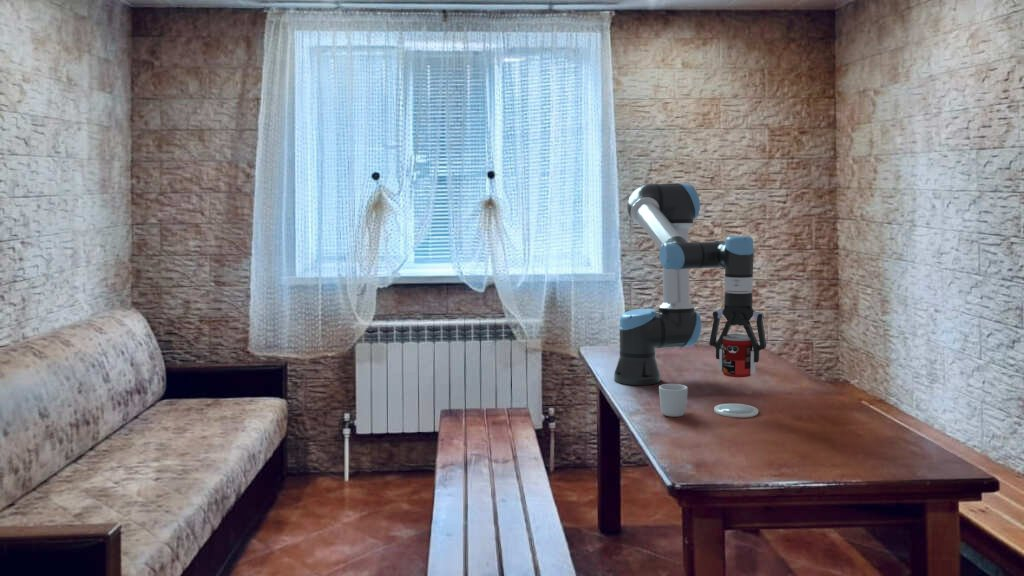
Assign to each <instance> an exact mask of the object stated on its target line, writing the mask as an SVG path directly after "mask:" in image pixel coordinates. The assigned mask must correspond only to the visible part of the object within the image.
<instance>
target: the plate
mask: <svg viewBox="0 0 1024 576" xmlns="http://www.w3.org/2000/svg"><path fill="white" fill-rule="evenodd" d="M713 410H714V413H715V414H717V415H720V416H723V417H728V418H738V419H739V418H744V419H745V418H752V417H756V416H757V415H759V408H757V407H755V406H753V405H748V404H745V403H744V404H743V403H721V404H717V405H715V406H714V409H713Z"/></svg>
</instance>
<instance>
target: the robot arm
mask: <svg viewBox="0 0 1024 576" xmlns="http://www.w3.org/2000/svg"><path fill="white" fill-rule="evenodd" d="M626 208H627V213H628V216H629V217H630V219H631V220H632V222H633V223H635V224H636V225H638V226H640V227H642V229H643V231H644V232H645V233H646V234H647V235H648V236H649V238H650V239H651V240H652V241H653V242H654V244H655V245H656V246H657V248H658V249H659V252H658V255H659V256H658V258H659V259H658V260H659V261H660V265H661V267H662V300H663V301H662V303H661V304H660V305H659V306H658V312H656V310H655V309H653V308H638V309H637V308H635V309H632V310H628V311H626V312H623V313H622V314H621V316H620V318H619V327H618V330H619V358H618V361H617V364H616V366H615V370H614V375H613V377H614V378H613V380H614V381H615V383H617V384H618V383H619V384H623V385H629V386H630V385H632V386H650V385H655V384H658V383H660V382H661V373H660V369H659V366H658V363H657V359H656V349H665V348H666V349H668V348H669V349H670V348H685V347H686V348H687V347H692V346H694V345H695V344H696V343H698V340H699V339H700V336H701V332H702V319H701V315H700V314H699V312H698V311H695V306H694V305H693V304H692V303H691V301H690V269H693V270H694V269H724V291H725V292H724V302H723V303H724V306H723V310H715V311H713V312H712V317H713V322H712V328H711V332H710V338H709V342H708V343H709V346H711V347H714V348H715V358H716V360H718V361H719V362H718V363H719V366H718V369H719V370H718V372H719V373H723V371H722V369H723V336H726V335H727V334H728V333H729V331H730V329H731V327H732V326H743V328H744V330H745V333H746V335H748V337H749V338H750V342H751V344H752V351H751V369H750V374H751V376H753V375H755V373H756V363H759V362H760V351H762V350H765V348H766V347H767V340H766V333H765V327H764V316H765V314H764V313H763V312H760V313H759V312H755V310H754V309H753V295H754V294H753V292H752V291H753V289H754V286H753V285H754V276H753V275H754V257H755V256H754V253H755V249H754V239H753V238H752V237H751V236H750V235H749V236H748V235H746V236H745V235H731V236H727V237H726V239H725V241H724V240H715V241H703V242H702V241H698V242H696V241H695V242H689V239H690V236H689V235H690V234H689V230H690V228H691V227H692V226H693V225H694V220H695V219H697V218H698V216H699V214H700V210H701V202H700V197H699V194H698V191H697V190H696V189H695V187H694V186H693V185H691V184H689V183H680V182H678V183H676V182H675V183H646V184H643V185H640V186H638V187H637V188H636V189H635V190H633V191H632V193H630V196H629V198H628V199H627V204H626ZM722 316H724V318H725V319H726V322H725V324H724V327H723V330H722V331H721V333H720V335H719V337H718V332H719V326H720V321H721V318H722ZM753 317H754V321H756V329H757V334H758V335H757V336H758V340H759V341H758V340H757V337H756V334H755V333H754V330H753V328H752V325H751V322H750V320H751V319H752V318H753ZM717 337H718V340H717ZM758 342H759V343H758Z"/></svg>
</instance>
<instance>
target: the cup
mask: <svg viewBox="0 0 1024 576" xmlns="http://www.w3.org/2000/svg"><path fill="white" fill-rule="evenodd" d="M658 393H659V404H660V411H661V413H662V415H664V416H666V417H671V418H673V417H674V418H677V417H682V416H685V415H684V414H685V413H686V408H687V400H688V393H689V387H688V386H686V385H684V384H680V383H664V384H661V385H659V386H658Z"/></svg>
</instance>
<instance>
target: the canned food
mask: <svg viewBox="0 0 1024 576" xmlns="http://www.w3.org/2000/svg"><path fill="white" fill-rule="evenodd" d="M722 347H723V369H722V373H723V375H724V376H725V377H729V378H749V377H751V376H752V374H750V369H751V351H752V350H753V347H752V344H751V342H750V338H749V337H748V335H747V334H743V333H741V334H740V333H729V334H727V335H726V336H723V344H722Z"/></svg>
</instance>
